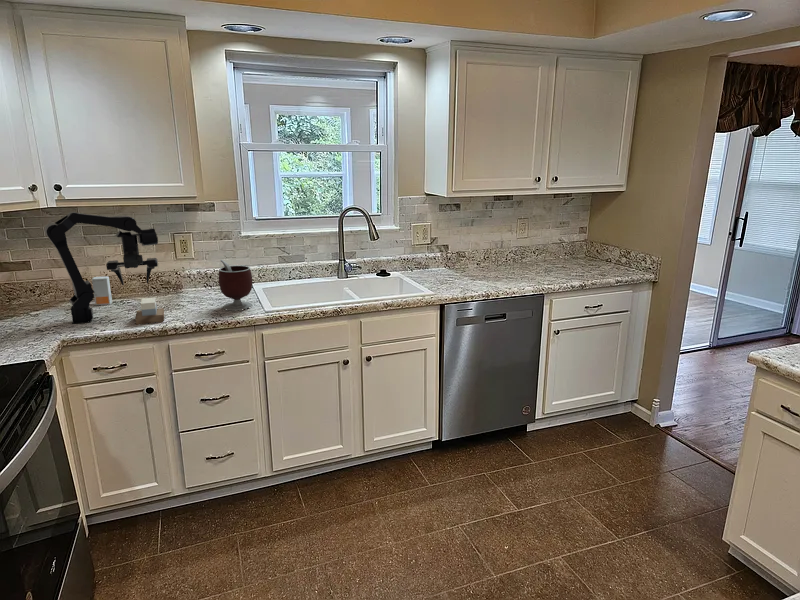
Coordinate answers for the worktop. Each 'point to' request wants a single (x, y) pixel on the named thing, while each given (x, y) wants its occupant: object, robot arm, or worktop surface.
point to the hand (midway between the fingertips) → (135, 284)
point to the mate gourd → (235, 285)
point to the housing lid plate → (148, 303)
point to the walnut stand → (149, 317)
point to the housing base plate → (149, 312)
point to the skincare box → (102, 290)
